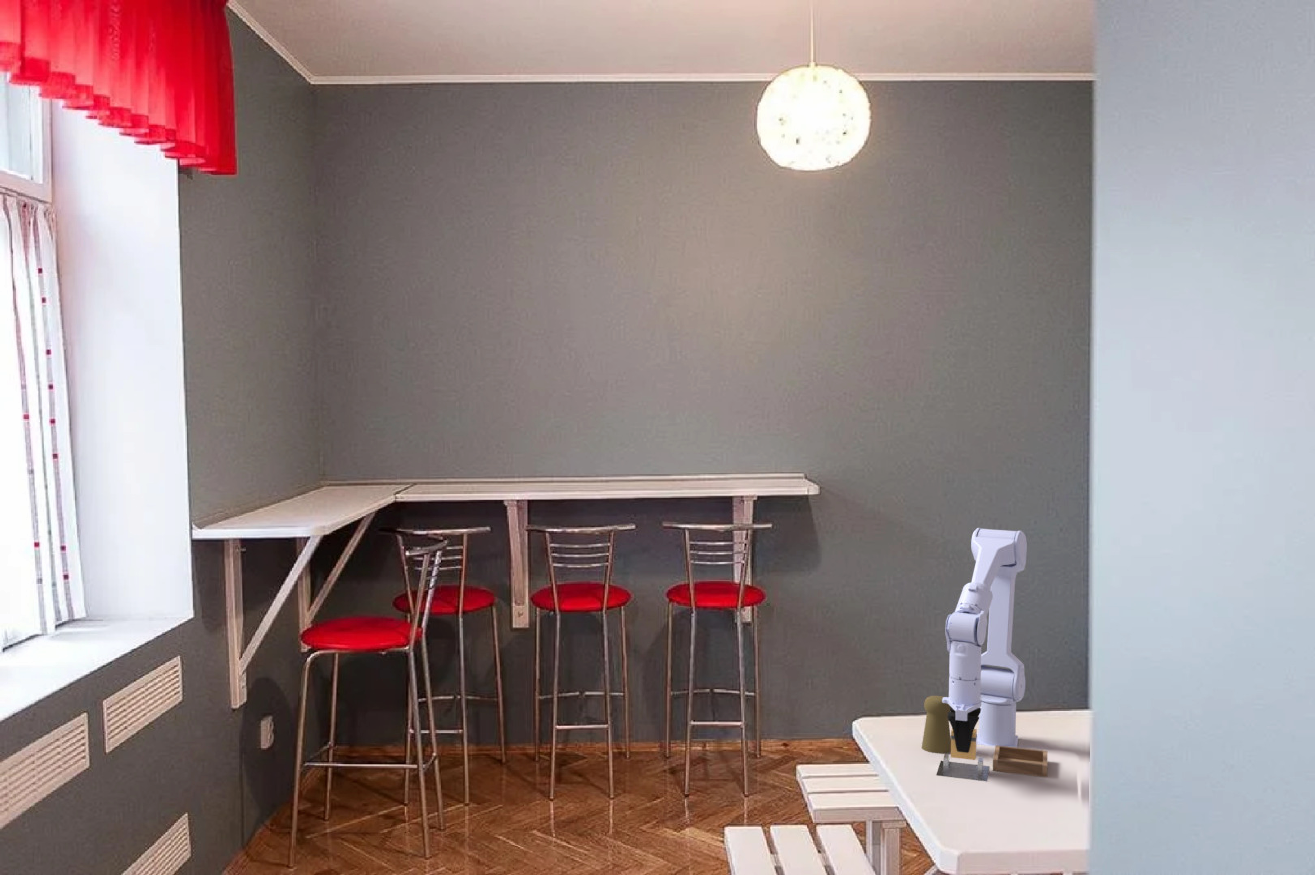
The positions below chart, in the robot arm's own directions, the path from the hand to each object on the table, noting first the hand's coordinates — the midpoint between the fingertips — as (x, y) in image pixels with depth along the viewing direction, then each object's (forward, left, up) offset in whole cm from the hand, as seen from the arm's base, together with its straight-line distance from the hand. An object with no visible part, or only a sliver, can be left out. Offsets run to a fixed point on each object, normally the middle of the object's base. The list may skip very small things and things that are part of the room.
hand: (963, 749), depth 207 cm
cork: (-12, -6, -5) cm, 14 cm away
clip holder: (0, 0, -5) cm, 5 cm away
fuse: (0, 0, -1) cm, 1 cm away
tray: (-7, +10, -5) cm, 13 cm away
